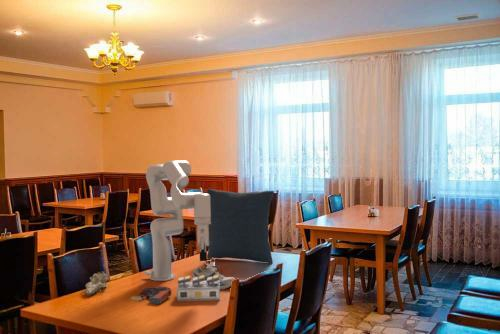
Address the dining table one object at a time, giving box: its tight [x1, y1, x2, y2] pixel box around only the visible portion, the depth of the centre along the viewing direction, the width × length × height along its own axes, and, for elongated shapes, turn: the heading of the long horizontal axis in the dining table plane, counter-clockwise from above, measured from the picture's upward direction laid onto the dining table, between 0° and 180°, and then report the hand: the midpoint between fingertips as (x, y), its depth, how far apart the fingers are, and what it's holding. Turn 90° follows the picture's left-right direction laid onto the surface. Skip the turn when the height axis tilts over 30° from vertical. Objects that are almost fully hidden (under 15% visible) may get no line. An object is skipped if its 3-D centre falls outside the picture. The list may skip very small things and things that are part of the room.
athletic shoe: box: [191, 263, 236, 290], centre depth 240 cm, size 10×23×12 cm, turn 78°
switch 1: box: [177, 275, 192, 285], centre depth 222 cm, size 6×5×2 cm
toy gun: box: [129, 286, 173, 305], centre depth 222 cm, size 18×5×15 cm
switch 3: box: [207, 275, 219, 284], centre depth 222 cm, size 6×5×2 cm
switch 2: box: [191, 275, 205, 284], centre depth 222 cm, size 6×5×2 cm
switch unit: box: [176, 280, 221, 302], centre depth 222 cm, size 19×12×7 cm, turn 93°
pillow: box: [206, 188, 275, 264], centre depth 292 cm, size 44×16×44 cm, turn 70°
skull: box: [85, 271, 110, 297], centre depth 233 cm, size 9×18×10 cm
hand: (203, 260), depth 221 cm, fingers closed
